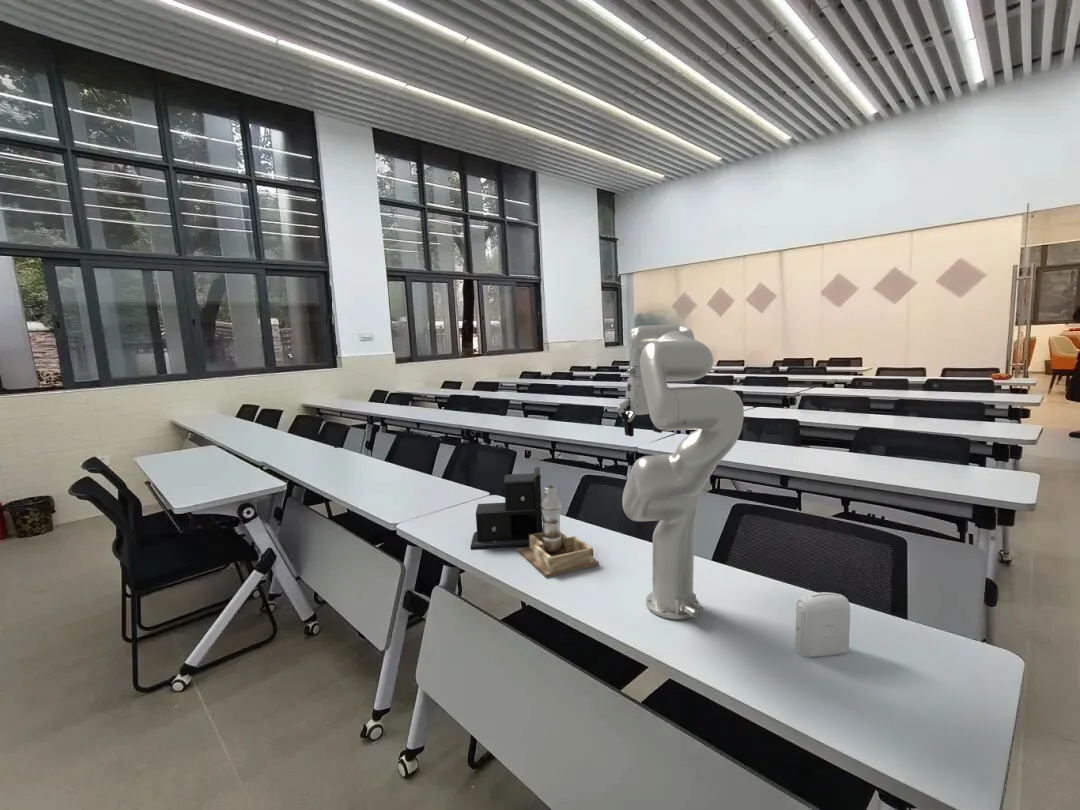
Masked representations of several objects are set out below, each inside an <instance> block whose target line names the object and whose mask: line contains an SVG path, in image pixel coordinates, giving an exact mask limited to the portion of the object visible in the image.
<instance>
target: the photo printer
mask: <svg viewBox="0 0 1080 810" xmlns="http://www.w3.org/2000/svg"><path fill="white" fill-rule="evenodd" d="M795 612H796V613H795V619H796V620H795V642H794V643H795V647H796V651H797V652H798V654H799V655H801V656H803V657H806V658H813V657H825V656H834V655H843V654H847V653H849V648H850V630H851V629H850V627H851V605H850V602H849V600H848V598H847V597H846V596H844V595H843V594H841V593H835V592H825V591H824V592H823V591H822V592H816V593H810V594H807V595H804V596H802V597H800V598H798V599H797V602H796V610H795Z"/></svg>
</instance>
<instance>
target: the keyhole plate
mask: <svg viewBox="0 0 1080 810" xmlns="http://www.w3.org/2000/svg"><path fill="white" fill-rule="evenodd" d="M542 534H543V532H540V533H535V534H530V535H529V546H525V547H518V548H517V553H519V555H521V556H522V557H523V558H524V559H525V560H526V561H527V562H528V563H529V564H530V565H532V567H534V568H535V569H536V570H537V571H538V572H539V573H540V574H541V575H542V576H543V577H545V578H546V579H548V578H551V577H552V578H553V577H555V576H560V575H563V574H567V573H573V572H575V571H576V572H577V571H579V570H585V569H588V568H591V567H596V566H599V564H600V562H599V561H598V560H597V559H595V557H594V548H593V547H591V546H590V545H588V544H586V543H585V542H584V541H582V540H581V539H579V537H577V536H574V535H573V536H569V537H568V536H567V535H565V534H564V533H562V532H561V537H562V547H561V549H560V550H559V551H556V552H548V551H545V550H544V543H542V542H541V541H542ZM584 568H585V569H584Z"/></svg>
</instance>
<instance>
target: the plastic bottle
mask: <svg viewBox="0 0 1080 810" xmlns="http://www.w3.org/2000/svg"><path fill="white" fill-rule="evenodd" d="M543 493H544V496H543V497H542V498H541V504H540V505H541V512H542V526H543V534H542V541H541V542H542V543H544V550H545V551H548V552H556V551H559V550H560V549H561V547H562V537H561V533H562V532H561V525H560V524H561V510H562V509H561V508H562V502H561V499H560V498H559V496H558V495H557V493H558V491H557V486H556V485H555V484H554V485H553V484H549V485H545V486H544V492H543Z"/></svg>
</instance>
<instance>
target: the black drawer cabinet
mask: <svg viewBox="0 0 1080 810" xmlns="http://www.w3.org/2000/svg"><path fill="white" fill-rule="evenodd" d="M541 476H542V475H541V470H540V467H539V466H537V467H535V468H534V470H533V473H516V474H515V473H510V474H505V475H504V479H503V480H504V481H503V486H504V502H490V503H486V502H485V503H478V504H477V506H476V510H475V518H476V519H475V522H476V531H475V532H473V535H472V538H471V543H470V550H480V549H481V550H482V549H483V550H484V549H485V550H486V549H503V548H523V547H528V546H529V535H530V534H535V533H540V532H543V519H542V512H541V505H540V504H541V501H542V487H541V486H542V483H541V479H542V477H541Z"/></svg>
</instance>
